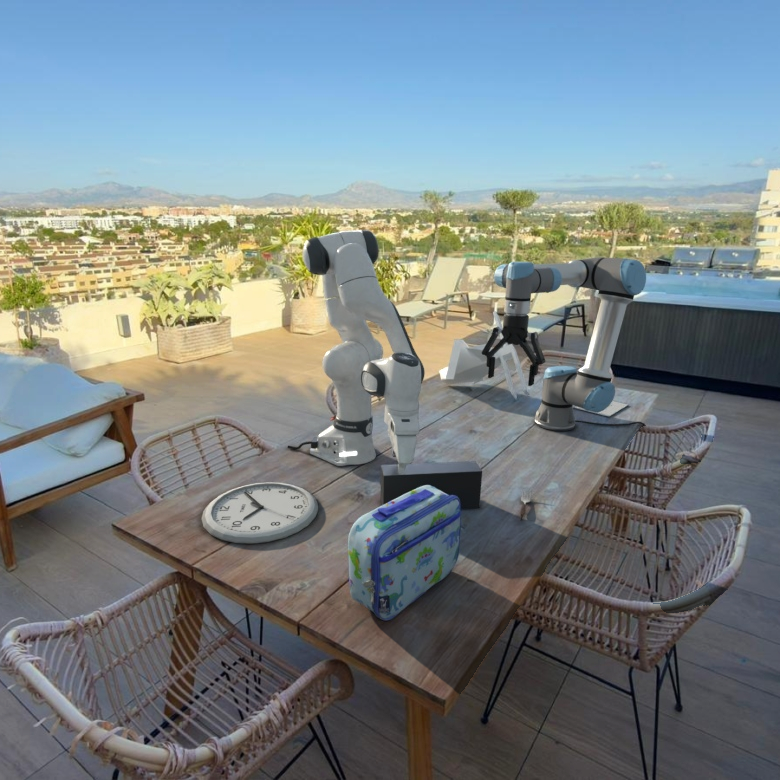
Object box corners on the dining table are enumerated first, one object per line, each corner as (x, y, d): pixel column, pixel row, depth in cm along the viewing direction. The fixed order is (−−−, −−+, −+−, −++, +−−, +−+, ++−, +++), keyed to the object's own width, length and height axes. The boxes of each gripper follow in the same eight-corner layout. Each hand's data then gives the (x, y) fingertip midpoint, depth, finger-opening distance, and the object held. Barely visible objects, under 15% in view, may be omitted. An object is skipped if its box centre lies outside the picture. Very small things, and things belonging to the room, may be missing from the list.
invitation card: (608, 416, 214) (573, 407, 224) (608, 416, 214) (573, 408, 224) (628, 404, 229) (594, 396, 238) (628, 405, 229) (594, 397, 238)
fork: (515, 521, 136) (516, 514, 135) (522, 493, 150) (523, 487, 150) (525, 523, 135) (526, 516, 135) (531, 495, 150) (532, 489, 149)
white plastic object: (461, 429, 252) (437, 405, 227) (444, 352, 274) (420, 323, 250) (535, 404, 240) (518, 377, 215) (510, 326, 262) (492, 293, 237)
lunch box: (378, 635, 98) (379, 537, 91) (341, 606, 105) (340, 513, 99) (464, 574, 115) (470, 488, 109) (427, 553, 122) (431, 471, 116)
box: (472, 496, 149) (475, 460, 146) (479, 508, 143) (482, 471, 140) (380, 501, 145) (380, 464, 142) (383, 513, 139) (383, 475, 136)
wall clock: (315, 535, 126) (186, 539, 123) (315, 541, 126) (187, 545, 123) (320, 478, 154) (216, 480, 152) (320, 483, 155) (216, 485, 152)
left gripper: (383, 401, 145) (381, 447, 149) (395, 431, 126) (392, 482, 130) (406, 401, 146) (403, 446, 150) (421, 431, 127) (416, 482, 131)
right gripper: (474, 311, 163) (469, 376, 169) (552, 320, 149) (544, 391, 155) (485, 308, 169) (480, 371, 175) (561, 317, 155) (553, 385, 161)
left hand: (398, 463), depth 140 cm, fingers open, 8 cm apart
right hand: (510, 381), depth 165 cm, fingers open, 13 cm apart
